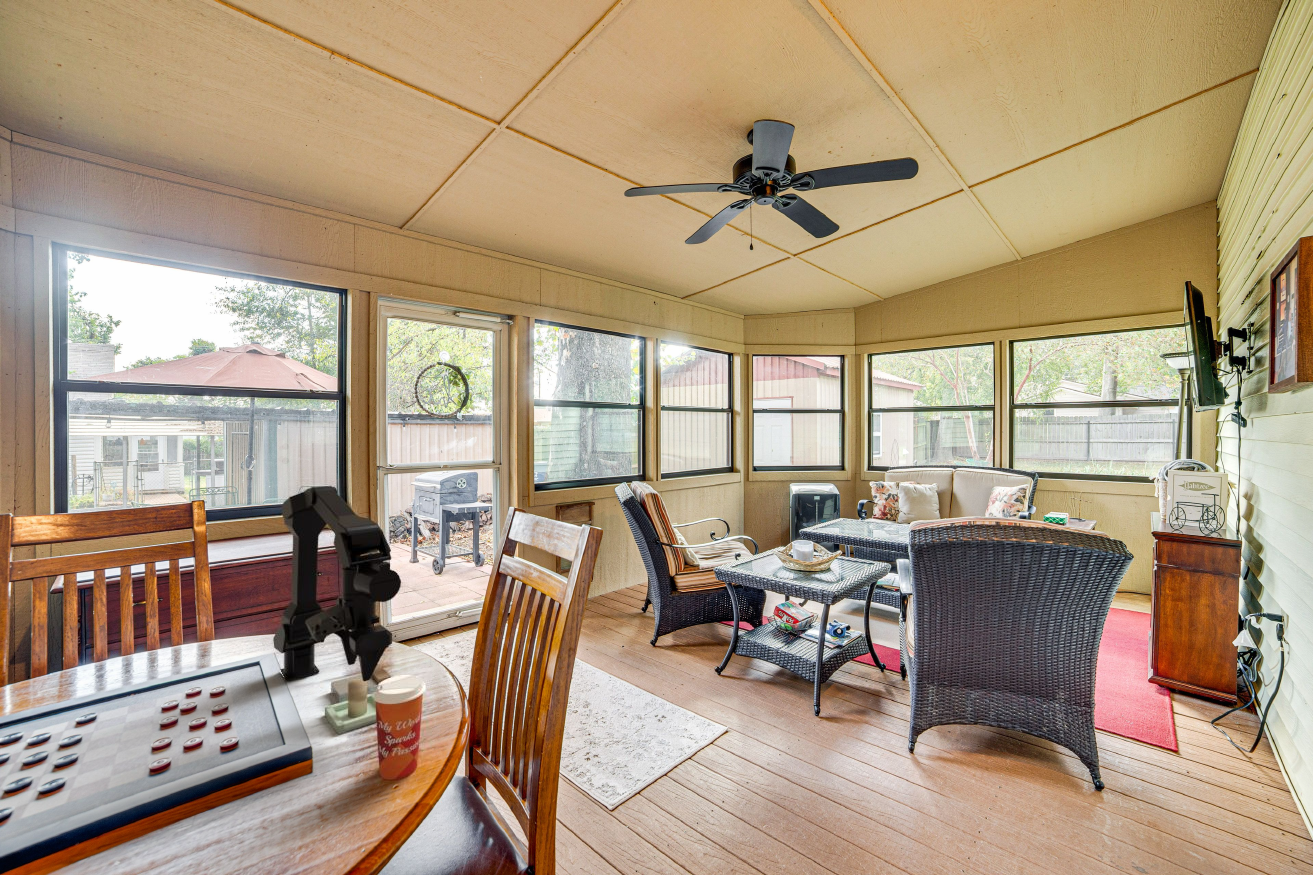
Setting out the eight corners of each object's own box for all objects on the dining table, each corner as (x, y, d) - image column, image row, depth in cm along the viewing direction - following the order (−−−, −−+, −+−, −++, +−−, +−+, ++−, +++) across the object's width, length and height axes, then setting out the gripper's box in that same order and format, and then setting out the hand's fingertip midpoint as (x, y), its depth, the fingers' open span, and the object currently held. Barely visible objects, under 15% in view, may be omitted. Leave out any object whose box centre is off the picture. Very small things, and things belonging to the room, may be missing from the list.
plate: (331, 693, 116) (331, 682, 116) (367, 684, 121) (368, 672, 121) (339, 707, 111) (339, 694, 111) (377, 696, 116) (377, 684, 116)
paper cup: (372, 789, 86) (373, 699, 86) (371, 762, 93) (372, 678, 93) (427, 775, 90) (428, 689, 89) (423, 750, 97) (423, 669, 96)
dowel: (345, 712, 107) (345, 681, 107) (363, 707, 110) (364, 676, 109) (350, 719, 105) (350, 687, 105) (369, 713, 107) (369, 682, 107)
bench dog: (366, 680, 122) (366, 666, 122) (378, 677, 123) (378, 663, 123) (378, 693, 116) (378, 679, 116) (391, 690, 118) (391, 676, 118)
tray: (324, 714, 107) (324, 707, 107) (375, 699, 114) (375, 692, 114) (338, 734, 101) (338, 726, 101) (390, 717, 107) (390, 709, 107)
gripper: (298, 587, 108) (297, 668, 108) (324, 612, 94) (323, 704, 95) (361, 577, 115) (360, 652, 116) (393, 599, 102) (392, 684, 102)
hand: (358, 672), depth 107 cm, fingers open, 9 cm apart
